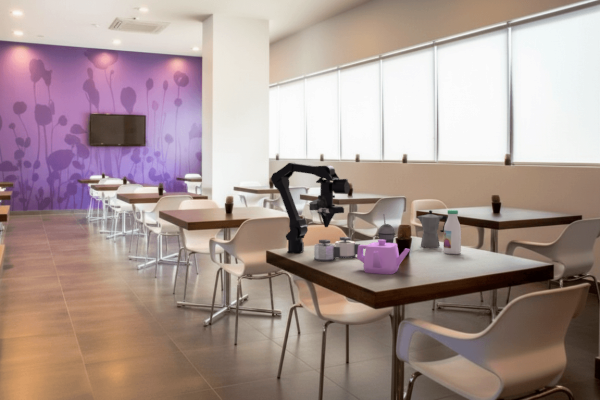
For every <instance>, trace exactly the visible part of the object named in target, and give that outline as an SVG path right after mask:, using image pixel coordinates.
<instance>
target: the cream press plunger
mask: <svg viewBox="0 0 600 400" xmlns="http://www.w3.org/2000/svg"><path fill="white" fill-rule="evenodd" d="M351 239H352V238H351V237H349V236H342V237H341V236H339V241H344V242H345V243H346V241H352V240H351Z"/></svg>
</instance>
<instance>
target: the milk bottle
mask: <svg viewBox="0 0 600 400" xmlns="http://www.w3.org/2000/svg"><path fill="white" fill-rule="evenodd" d="M458 214H459V210H457V209H449V210H447V218H448V219H447V221H446V223H445V222H444V223H445V226H444V225H443V226H444V232H443V253H444V254H447V255H460V254H461V253H462V252H461V251H462V227H461V224H460V221H459V219H458Z"/></svg>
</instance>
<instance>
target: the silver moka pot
mask: <svg viewBox="0 0 600 400" xmlns="http://www.w3.org/2000/svg"><path fill="white" fill-rule="evenodd" d="M313 246H314V248H313V249H314V253H313V256H314V257H313V260H314V261H316V262H334V261H335V260H336V259H341V258H340V247H335V244H334V243H326V245H323V243H316V244H314V245H313Z"/></svg>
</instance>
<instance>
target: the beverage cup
mask: <svg viewBox="0 0 600 400" xmlns="http://www.w3.org/2000/svg"><path fill="white" fill-rule="evenodd" d="M382 216H383V224H382V225H381V226H380V227H379V229H378V233H377V234H378V238H379V239H378V240H380V239H383V240H386V242H385V243H394V239H395V235H396V233H395V229H394V227H393V226H392V225H391V224H389V223H386V217H385V213H383V215H382Z"/></svg>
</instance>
